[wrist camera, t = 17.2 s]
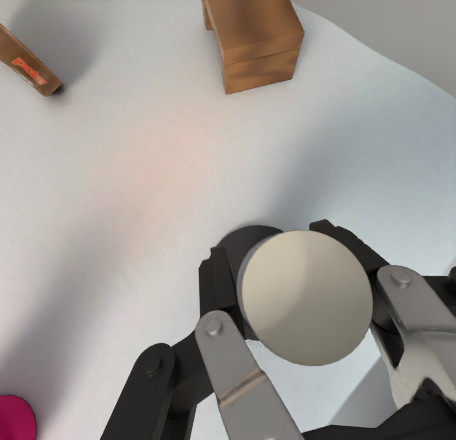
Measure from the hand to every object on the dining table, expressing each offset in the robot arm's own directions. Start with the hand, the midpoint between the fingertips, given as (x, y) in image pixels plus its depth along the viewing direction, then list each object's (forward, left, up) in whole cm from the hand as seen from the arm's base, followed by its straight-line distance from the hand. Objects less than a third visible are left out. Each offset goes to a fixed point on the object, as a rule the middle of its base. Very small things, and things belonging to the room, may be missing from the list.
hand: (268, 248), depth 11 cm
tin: (+21, -29, -10) cm, 37 cm away
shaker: (0, +2, -7) cm, 7 cm away
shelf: (-6, -25, -9) cm, 28 cm away
